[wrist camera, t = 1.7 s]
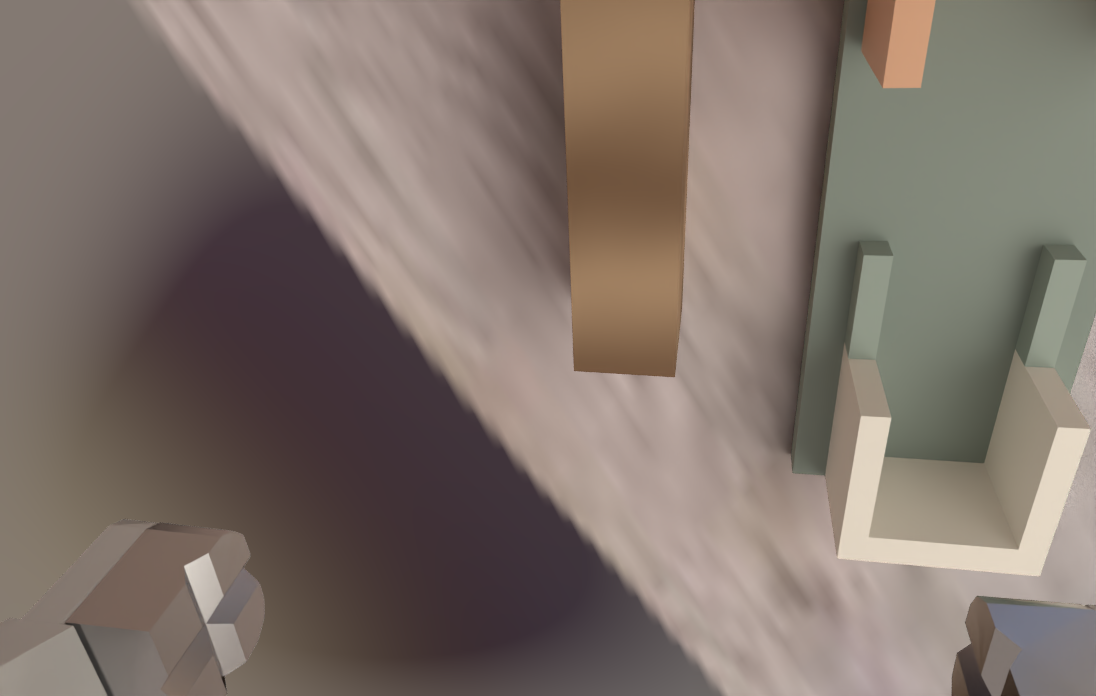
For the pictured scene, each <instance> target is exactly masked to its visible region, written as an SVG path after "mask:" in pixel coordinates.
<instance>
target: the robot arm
mask: <svg viewBox="0 0 1096 696" xmlns="http://www.w3.org/2000/svg"><path fill="white" fill-rule="evenodd" d="M250 556H251V554H250V552H249V549H248V547H247V544H246V541H245V538H244V536H243V535H242V534H240V533H237V532H234V531H230V530H221V529H213V528H204V527H195V526H187V525H178V524H169V523H161V522H160V523H154V522H145V521H136V520H128V519H123V520H121V521H118V522H116V523H113V524H111V525H109V526H108V527H107V528H106V529H105V530H104V531H103V533H102V534H101V535H100V536H99V537H98V538H97V539H96V540H95V541H94V542H93V543H92V544H91V545H90V547H88V548H87V550H86V551H85V552H84V553H83V554H82V555H81V556H80V557H79V558H78V559H77V560H76V561H75V562H74V563H73V564H72V566H71V567H70V568H69V569H68V570H67V571H66V572H65V573H64V574H63V575H62V576H61V577H60V578H59V579H58V580H57V582H56V583H55V584H54V585H53V586H52V587H51V588H50V589H49V590H48V591H47V592H46V593H45V594H44V595H43V596H42V597H41V599H40V600H39V601H38V602H37V603H36V604H35V605H34V606H33V607H32V608H31V609H30V610H29V611H28V612H27V614H26V615H25V616H24V617H23V618H22V619H13V618H9V619H7V620H5V621H3V622H1V623H0V696H226V695H227V689H226V682H225V675H227V674H228V673H230V672H232V671H233V670H235V669H236V668H238V667H239V666H241V665H242V664H244V663H245V662H246V661H247V660H248V658H249V656H250V654H251V653H252V651H253V649H254V647H255V646H256V644H257V642H258V639H259V636H260V632H261V628H262V624H263V620H264V617H265V614H264V596H263V593H262V590H261V586H260V583H259V582H258V581H257V580H256V579H255V578H254V577H253V576H252V575H251V574H249V572H247V571H246V570H245V569H244V566H245V564H246V563H247V561H248V559H249V558H250ZM965 624H966V627H967V630H968V634H969V637H970V640H971V644H970V645H968V646H967V647H965V648H964V649H962V650H961V651H959V652H958V653H957V655H956V660H955V664H954V669H953V673H952V696H1096V605H1085V606H1083V605H1081V604H1072V603H1059V602H1047V601H1034V600H1021V599H1009V598H996V597H984V596H977V597H976V598H975V599H974V600H973V602H972V603H971V604H970V607H969V611H968V614H967V618H966V621H965Z"/></svg>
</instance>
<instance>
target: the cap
mask: <svg viewBox="0 0 1096 696" xmlns="http://www.w3.org/2000/svg"><path fill="white" fill-rule="evenodd" d="M935 1H936V0H868V2H867V9H866V17H865V25H864V32H863V40H862V48H861V52H862V54H863V55H864V57H865V59H866V60H867V62H868V64H869V66H870V67H871V69H872V71H873V72H874V74H875V76H876V78H877V79H878V81H879V83H880V85H881V86H882V88H921V83H922V77H923V72H924V66H925V60H926V54H927V48H928V42H929V36H930V31H931V25H932V19H933V13H934V7H935Z"/></svg>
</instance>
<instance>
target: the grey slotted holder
mask: <svg viewBox="0 0 1096 696" xmlns="http://www.w3.org/2000/svg"><path fill="white" fill-rule="evenodd" d="M867 2H868V0H844V7H843V15H842V24H841V32H840V41H839V50H838V58H837V67H836V75H835V84H834V92H833V101H832V109H831V118H830V126H829V135H828V143H827V152H826V161H825V169H824V178H823V186H822V195H821V203H820V212H819V220H818V229H817V237H816V246H815V254H814V263H813V272H812V280H811V289H810V297H809V306H808V314H807V323H806V331H805V340H804V348H803V357H802V366H801V374H800V383H799V391H798V400H797V408H796V417H795V425H794V434H793V442H792V451H791V461H792V471H793V473H797V474H811V475H825V479H826V486H827V492H828V499H829V506H830V513H831V520H832V527H833V534H834V541H835V547H836V554H837V559H848V560H859V561H871V562H882V563H894V564H905V565H916V566H928V567H939V568H950V569H962V570H973V571H984V572H996V573H1007V574H1018V575H1030V576H1040V574H1041V571H1042V568H1043V566H1044V563H1045V560H1046V557H1047V554H1048V551H1049V548H1050V545H1051V543H1052V540H1053V537H1054V534H1055V531H1056V528H1057V525H1058V522H1059V520H1060V517H1061V514H1062V511H1063V508H1064V505H1065V502H1066V499H1067V497H1068V494H1069V491H1070V488H1071V485H1072V482H1073V479H1074V476H1075V474H1076V471H1077V468H1078V465H1079V462H1080V459H1081V456H1082V454H1083V451H1084V448H1085V445H1086V442H1087V439H1088V436H1089V433H1090V431H1091V428H1090V427H1089V425H1088V423H1087V422H1086V420H1085V418H1084V417H1083V415H1082V413H1081V412H1080V410H1079V408H1078V407H1077V405H1076V403H1075V402H1074V400H1073V398H1072V397H1071V395H1070V392H1071V389H1072V386H1073V383H1074V379H1075V376H1076V373H1077V370H1078V367H1079V364H1080V361H1081V358H1082V355H1083V352H1084V348H1085V345H1086V342H1087V339H1088V336H1089V333H1090V330H1091V327H1092V324H1093V321H1094V318H1095V314H1096V0H936V1H935V7H934V13H933V19H932V25H931V31H930V36H929V42H928V48H927V54H926V60H925V66H924V72H923V77H922V83H921V88H882V86H881V85H880V83H879V81H878V79H877V78H876V76H875V74H874V72H873V71H872V69H871V67H870V66H869V64H868V62H867V60H866V59H865V57H864V55H863V54H862V52H861V48H862V40H863V32H864V25H865V17H866V9H867Z"/></svg>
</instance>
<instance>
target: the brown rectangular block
mask: <svg viewBox="0 0 1096 696" xmlns="http://www.w3.org/2000/svg"><path fill="white" fill-rule="evenodd" d="M694 5H695V0H560V9H561V35H562V62H563V89H564V116H565V142H566V169H567V196H568V223H569V249H570V276H571V303H572V329H573V356H574V371H583V372H599V373H616V374H632V375H648V376H664V377H675V370H676V360H677V351H678V341H679V331H680V322H681V312H682V296H683V271H684V247H685V223H686V199H687V175H688V150H689V126H690V102H691V78H692V53H693V29H694Z"/></svg>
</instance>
